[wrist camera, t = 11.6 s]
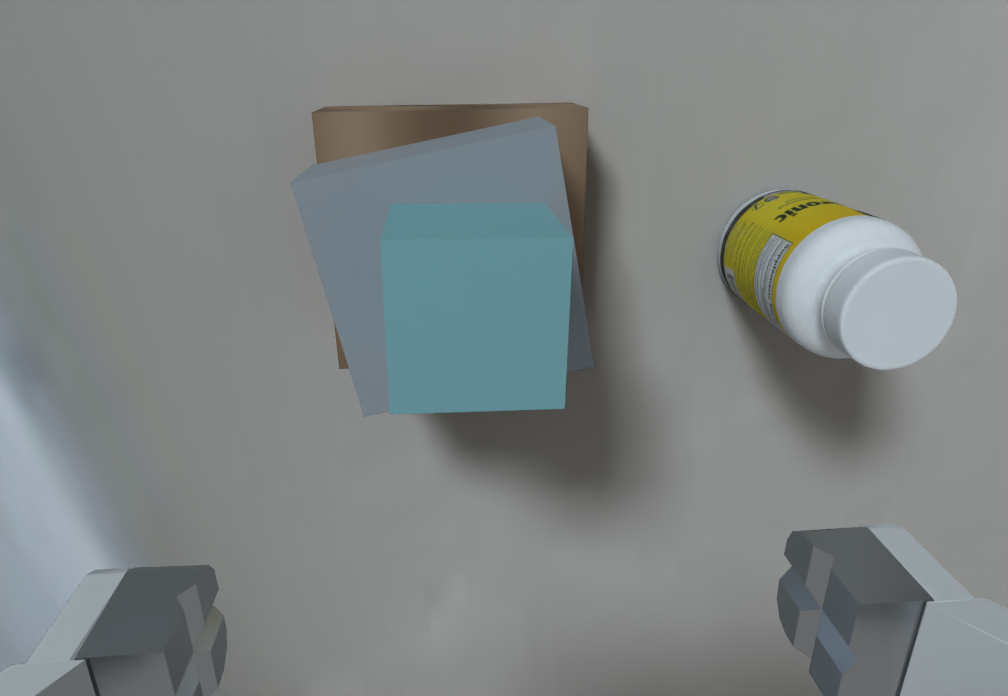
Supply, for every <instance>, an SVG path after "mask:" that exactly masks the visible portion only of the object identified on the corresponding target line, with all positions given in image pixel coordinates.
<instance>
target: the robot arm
mask: <svg viewBox="0 0 1008 696" xmlns="http://www.w3.org/2000/svg"><path fill="white" fill-rule="evenodd" d="M784 555H785V556H786V558H787V559H788V561H789V562H790V564H791V565H792V567H791V568H790V569H789V570H788V571H787V572H786V573H785V574H784V575H783V576H782V577H781V578H780V579H779V586H778V594H777V603H778V610H779V618H780V620H781V623H782V626H783V628H784V631H785V633H786V635H787V637H788V638H789V640H790V642H791V644H792V645H793V647H795V648H796V649H798V650H800V651H801V652H803V653H804V654H806V655H807V656H809V657H810V658H811V663H810V668H809V673H810V675H811V676H812V678H813V680H814V681H815V683H816V685H817V686H818V688H819V689H820V691H821V693H822V694H823V696H1008V609H1007V608H1005V607H1003V606H1001V605H999V604H997V603H995V602H992V601H990V600H988V599H986V598H980V599H974V598H973V597H972V596H971V595H970V594H969V593H968V592H967V591H966V590H965V589H964V588H963V587H962V586H961V585H960V584H959V583H958V582H957V581H956V580H955V579H954V578H953V577H952V576H951V575H950V574H949V573H948V572H947V571H946V570H945V569H944V568H943V567H942V566H941V565H940V564H939V563H938V562H937V561H936V560H935V559H934V558H933V557H932V556H931V555H930V554H929V553H928V552H927V551H926V550H925V549H924V548H923V547H922V546H921V545H920V544H919V543H918V542H917V541H916V540H915V539H914V538H913V537H912V536H911V535H910V534H909V533H908V532H907V531H906V530H905V529H904V528H903V527H901V526H898V525H896V524H894V523H888V524H876V525H864V526H859V527H851V528H835V529H819V530H804V531H792V533H791V534H790V536H789V538H788V539H787V542H786V547H785V552H784ZM218 590H219V588H218V583H217V579H216V575H215V571H214V569H213V568H212V567H210V566H209V565H193V566H166V567H138V568H133V569H130V568H123V569H102V570H94V571H93V572H91V573H89V574H87V575H86V576H85V577H84V578H83V580H82V581H81V583H80V584H79V586H78V587H77V589H76V590H75V591H74V593H73V594H72V596H71V597H70V599H69V600H68V602H67V603H66V605H65V606H64V608H63V609H62V610H61V612H60V613H59V615H58V616H57V618H56V619H55V621H54V622H53V624H52V625H51V627H50V628H49V629H48V631H47V632H46V634H45V635H44V637H43V638H42V640H41V641H40V643H39V644H38V646H37V647H36V648H35V650H34V651H33V653H32V654H31V656H30V657H29V659H28V660H27V662H26V663H25V664H13V665H11V666H9V667H8V668H6V669H5V670H3V671H2V672H0V696H210V695H211V694H212V693H213V692H214V691H215V690H216V689H217V688H218V686H219V683H220V680H221V677H222V674H223V671H224V665H225V658H226V651H227V629H226V624H225V618H224V615H223V614H222V613H221V612H220V611H219V610H218V609H216V608H215V607H214V606H213V602H214V600H215V597H216V595H217V592H218Z"/></svg>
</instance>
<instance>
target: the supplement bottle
mask: <svg viewBox="0 0 1008 696" xmlns="http://www.w3.org/2000/svg"><path fill="white" fill-rule="evenodd" d="M718 266H719V270H720V273H721V276H722V278H723V280H724V282H725V283H726V285H727V286H728V288H729V289H730V290H731V291H732V292H733V293H734V294H735V295H736V296H737V297H739V298H740V299H741V300H742V301H743V302H745V303H746V304H747V305H748V306H750V307H751V308H752V309H754V310H755V311H756V312H758V313H759V314H760V315H762V316H763V317H764V318H765V319H767V320H768V321H769V322H771V323H772V324H773V325H775V326H776V327H777V328H778V329H780V330H781V331H782V332H783V333H785V334H786V335H787V336H789V337H790V338H791V339H792V340H794V341H795V342H796V343H797V344H799V345H801V346H802V347H804V348H805V349H806V350H809V351H811V352H813V353H815V354H817V355H820V356H824V357H829V358H837V359H843V358H851V359H853V360H854V361H856V362H857V363H859V364H861V365H863V366H865V367H868V368H872V369H877V370H893V369H898V368H902V367H905V366H908V365H911V364H913V363H915V362H917V361H919V360H921V359H922V358H924V357H925V356H926V355H928V354H929V353H930V352H932V351H933V350H934V349H935V348H936V347H937V346H938V345H939V344H940V342H941V341H942V340H943V339H944V337H945V336H946V335H947V333H948V331H949V329H950V328H951V325H952V323H953V320H954V317H955V314H956V308H957V293H956V288H955V285H954V282H953V280H952V278H951V277H950V275H949V274H948V272H947V271H946V270H945V269H944V268H943V267H942V266H940V265H939V264H937V263H936V262H934V261H932V260H930V259H927V258H925V257H923V256H922V253H921V251H920V249H919V247H918V246H917V244H916V243H915V241H914V240H913V239H912V238H911V237H910V235H909V234H907V233H906V232H905V231H904V230H902V229H901V228H900V227H898V226H896V225H894V224H892V223H890V222H888V221H887V220H884V219H881V218H878V217H875V216H872V215H869V214H866V213H863V212H860V211H857V210H854V209H851V208H848V207H846V206H843V205H840V204H837V203H834V202H831V201H829V200H826V199H823V198H820V197H817V196H815V195H812V194H809V193H806V192H802V191H798V190H792V189H777V190H772V191H768V192H765V193H762V194H760V195H757V196H755V197H753V198H752V199H750V200H748V201H747V202H746V203H744V204H743V205H742V206H741V207H740V208H739V209H738V210H737V211H736V212H735V213H734V214H733V215H732V217H731V218H730V219H729V221H728V223H727V224H726V226H725V228H724V230H723V232H722V235H721V238H720V242H719V247H718Z"/></svg>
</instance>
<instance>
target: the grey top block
mask: <svg viewBox="0 0 1008 696" xmlns="http://www.w3.org/2000/svg"><path fill="white" fill-rule="evenodd" d="M291 185H292V188H293V191H294V194H295V197H296V201H297V204H298V207H299V210H300V213H301V217H302V220H303V223H304V226H305V229H306V232H307V236H308V239H309V242H310V245H311V248H312V252H313V255H314V258H315V261H316V264H317V268H318V271H319V274H320V277H321V280H322V284H323V287H324V290H325V293H326V296H327V300H328V303H329V306H330V309H331V312H332V315H333V319H334V322H335V325H336V328H337V331H338V335H339V338H340V341H341V344H342V347H343V351H344V354H345V357H346V360H347V363H348V367H349V370H350V373H351V376H352V379H353V383H354V386H355V389H356V392H357V395H358V398H359V402H360V405H361V408H362V411H363V414H364V417H365V416H369V415H374V414H379V413H383V412H388V411H389V394H388V376H387V358H386V340H385V322H384V304H383V286H382V267H381V249H380V238H381V235H382V231H383V228H384V225H385V222H386V218H387V215H388V212H389V208H390V205H391V204H441V203H546V205H547V206H548V207H549V208H550V210H551V211H552V212H553V213H554V215H555V216H556V217H557V218H558V220H559V221H560V222H561V223H562V225H563V226H564V227H565V228H566V230H567V231H568V232H569V233H570V235H571V236H572V237H573V232H572V226H571V219H570V213H569V207H568V201H567V195H566V189H565V182H564V176H563V170H562V164H561V158H560V152H559V145H558V139H557V133H556V127H555V125H553V124H551V123H550V122H548V121H546V120H544V119H542V118H541V117H534V118H529V119H525V120H520V121H515V122H511V123H506V124H502V125H497V126H492V127H488V128H483V129H478V130H474V131H469V132H464V133H460V134H455V135H451V136H446V137H441V138H437V139H432V140H427V141H423V142H418V143H413V144H409V145H404V146H400V147H395V148H390V149H386V150H381V151H376V152H372V153H367V154H362V155H358V156H353V157H349V158H344V159H339V160H335V161H330V162H325V163H321V164H316V165H312V166H311V167H310V168H308V169H307V170H306V171H305V172H303V173H302V174H301V175H300V176H299V177H297V178H296V179H295V180H294V181H292V182H291ZM591 367H594V361H593V355H592V349H591V342H590V336H589V330H588V324H587V318H586V312H585V306H584V299H583V293H582V287H581V281H580V275H579V269H578V262H577V256H576V250H575V244H574V238H573V250H572V271H571V291H570V312H569V332H568V353H567V373H568V372H573V371H577V370H582V369H586V368H591Z"/></svg>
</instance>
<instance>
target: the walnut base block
mask: <svg viewBox="0 0 1008 696" xmlns="http://www.w3.org/2000/svg"><path fill="white" fill-rule="evenodd" d="M534 117H541V118H542V119H544V120H546V121H548V122H550V123H551V124H553V125H555V127H556V133H557V139H558V145H559V152H560V158H561V164H562V170H563V176H564V182H565V189H566V195H567V201H568V207H569V213H570V219H571V226H572V232H573V238H574V244H575V250H576V256H577V262H578V269H579V275H580V281H581V287H583V257H584V227H585V197H586V167H587V137H588V108H586V107H583V106H580V105H577V104H574V103H521V104H458V105H395V106H332V107H324V108H322V109H319V110H317V111H315V112H312V120H313V130H314V139H315V148H316V157H317V164H321V163H325V162H330V161H335V160H339V159H344V158H349V157H353V156H358V155H362V154H367V153H372V152H376V151H381V150H386V149H390V148H395V147H400V146H404V145H409V144H413V143H418V142H423V141H427V140H432V139H437V138H441V137H446V136H451V135H455V134H460V133H464V132H469V131H474V130H478V129H483V128H488V127H492V126H497V125H502V124H506V123H511V122H515V121H520V120H525V119H529V118H534ZM334 323H335V322H334ZM335 333H336V342H337V351H338V360H339V369H347V368H349V367H348V363H347V360H346V357H345V354H344V351H343V347H342V344H341V341H340V338H339V335H338V331H337V328H336V325H335Z"/></svg>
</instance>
